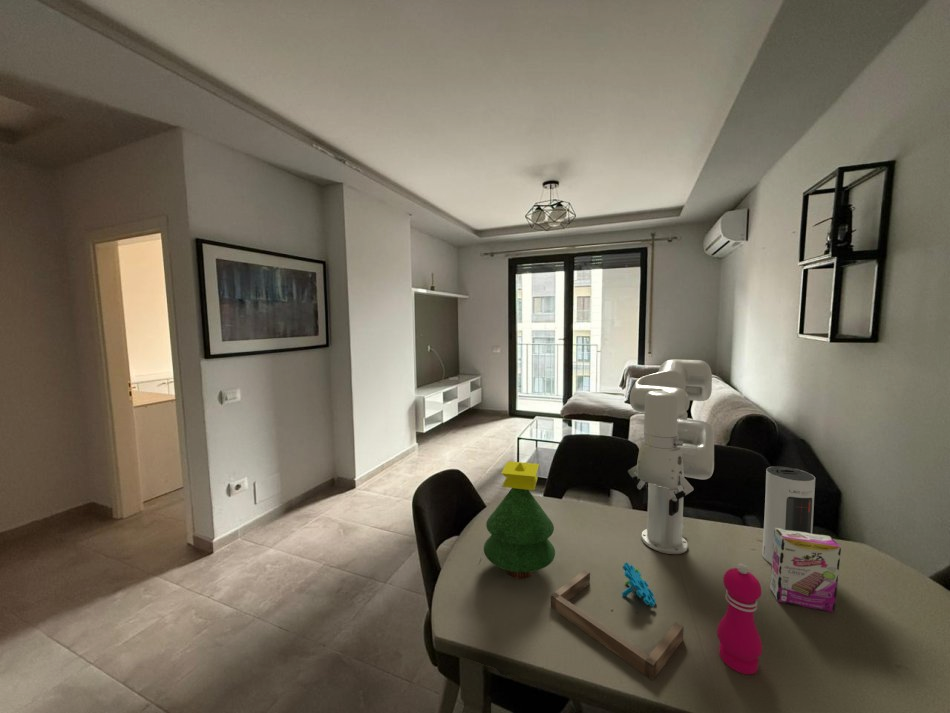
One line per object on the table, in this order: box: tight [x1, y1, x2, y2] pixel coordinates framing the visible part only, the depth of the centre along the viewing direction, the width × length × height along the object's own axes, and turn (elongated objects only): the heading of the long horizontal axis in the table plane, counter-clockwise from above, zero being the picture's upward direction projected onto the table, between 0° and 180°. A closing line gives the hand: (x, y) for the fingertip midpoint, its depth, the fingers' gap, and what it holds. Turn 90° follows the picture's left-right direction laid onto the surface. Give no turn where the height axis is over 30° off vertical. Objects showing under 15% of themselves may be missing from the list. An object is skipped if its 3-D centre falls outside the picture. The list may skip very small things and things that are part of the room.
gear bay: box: [550, 569, 685, 681], centre depth 83 cm, size 14×24×3 cm, turn 40°
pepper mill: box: [716, 563, 763, 675], centre depth 73 cm, size 7×7×20 cm
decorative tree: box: [483, 460, 556, 580], centre depth 100 cm, size 19×19×30 cm
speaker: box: [761, 465, 816, 565], centre depth 103 cm, size 11×10×26 cm
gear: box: [621, 562, 657, 608], centre depth 91 cm, size 11×6×10 cm
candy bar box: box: [769, 528, 842, 613], centre depth 88 cm, size 11×5×16 cm, turn 71°
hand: (657, 507), depth 95 cm, fingers open, 6 cm apart
